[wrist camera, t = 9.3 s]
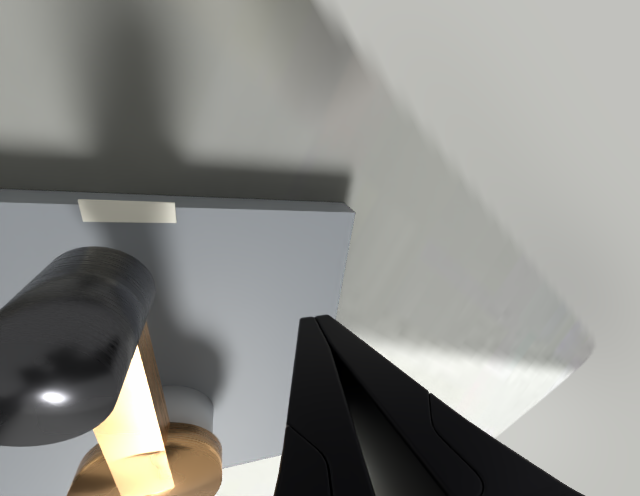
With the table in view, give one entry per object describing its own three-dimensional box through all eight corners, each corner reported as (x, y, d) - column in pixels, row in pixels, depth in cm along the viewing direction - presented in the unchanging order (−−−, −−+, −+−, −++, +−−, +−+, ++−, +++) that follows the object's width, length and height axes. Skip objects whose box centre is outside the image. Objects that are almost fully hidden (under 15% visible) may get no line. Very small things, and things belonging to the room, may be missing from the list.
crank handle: (225, 480, 16) (225, 586, 12) (97, 515, 14) (55, 649, 11) (198, 241, 9) (183, 322, 6) (-42, 251, 8) (-256, 372, 4)
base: (6, 490, 17) (-42, 576, 14) (-192, 175, 9) (-402, 212, 6) (306, 427, 22) (319, 479, 19) (344, 198, 14) (375, 224, 11)
